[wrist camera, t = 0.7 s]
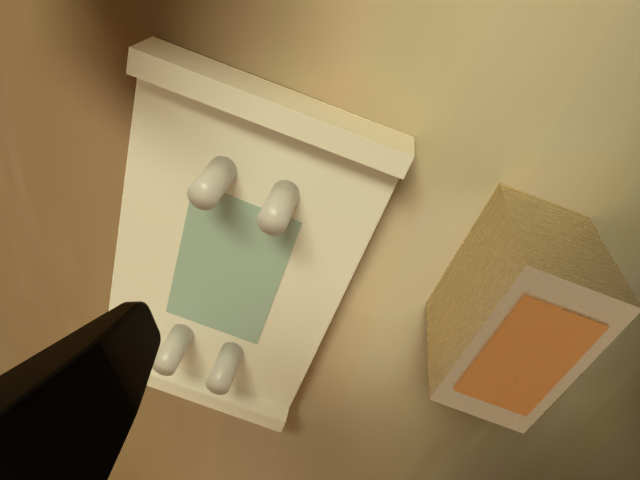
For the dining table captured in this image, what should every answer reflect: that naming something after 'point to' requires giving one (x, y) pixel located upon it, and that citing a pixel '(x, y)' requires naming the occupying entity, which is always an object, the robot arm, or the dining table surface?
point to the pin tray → (243, 225)
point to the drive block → (522, 310)
